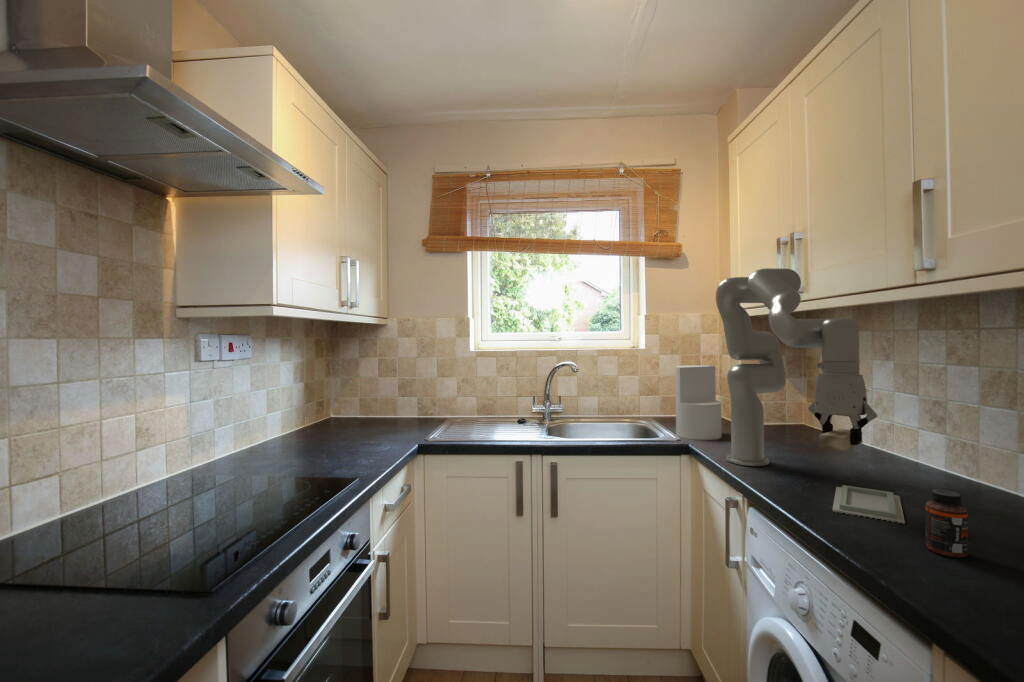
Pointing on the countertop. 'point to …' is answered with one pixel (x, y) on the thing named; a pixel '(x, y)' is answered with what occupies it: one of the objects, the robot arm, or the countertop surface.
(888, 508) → the white flat rectangular tray
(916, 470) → the countertop surface
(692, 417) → the grey stepped piece
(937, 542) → the supplement bottle
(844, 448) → the birch tile
